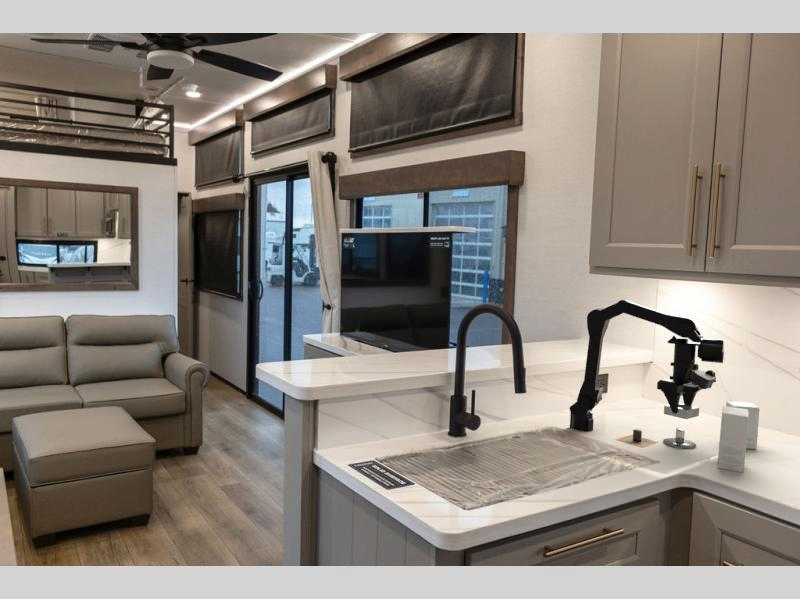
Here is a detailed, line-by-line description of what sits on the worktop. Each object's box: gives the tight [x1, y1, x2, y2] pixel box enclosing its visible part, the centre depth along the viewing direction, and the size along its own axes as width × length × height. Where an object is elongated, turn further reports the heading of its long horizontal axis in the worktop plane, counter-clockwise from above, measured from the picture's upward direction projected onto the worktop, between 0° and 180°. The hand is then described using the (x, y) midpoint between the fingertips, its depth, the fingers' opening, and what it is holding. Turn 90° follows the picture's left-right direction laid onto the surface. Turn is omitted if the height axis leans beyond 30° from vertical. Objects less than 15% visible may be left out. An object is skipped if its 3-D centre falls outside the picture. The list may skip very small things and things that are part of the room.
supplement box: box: [725, 400, 760, 450], centre depth 192 cm, size 7×7×13 cm
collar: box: [663, 402, 700, 420], centre depth 187 cm, size 7×7×3 cm
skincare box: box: [717, 405, 749, 473], centre depth 172 cm, size 8×7×16 cm
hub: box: [662, 427, 697, 450], centre depth 188 cm, size 9×9×6 cm
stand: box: [615, 429, 660, 448], centre depth 190 cm, size 9×9×4 cm
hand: (681, 411), depth 188 cm, fingers closed on collar, 7 cm apart
